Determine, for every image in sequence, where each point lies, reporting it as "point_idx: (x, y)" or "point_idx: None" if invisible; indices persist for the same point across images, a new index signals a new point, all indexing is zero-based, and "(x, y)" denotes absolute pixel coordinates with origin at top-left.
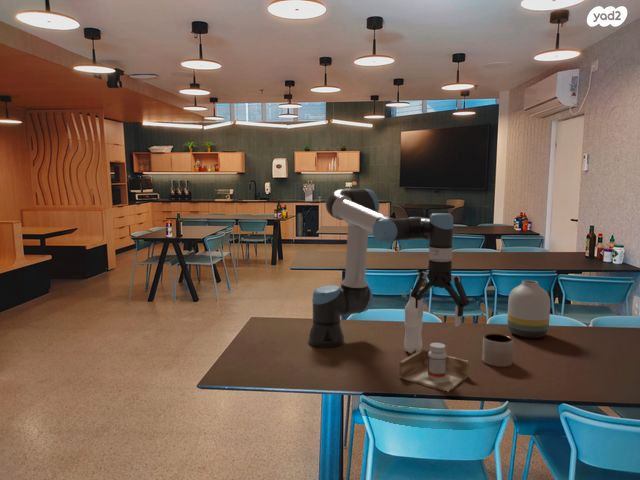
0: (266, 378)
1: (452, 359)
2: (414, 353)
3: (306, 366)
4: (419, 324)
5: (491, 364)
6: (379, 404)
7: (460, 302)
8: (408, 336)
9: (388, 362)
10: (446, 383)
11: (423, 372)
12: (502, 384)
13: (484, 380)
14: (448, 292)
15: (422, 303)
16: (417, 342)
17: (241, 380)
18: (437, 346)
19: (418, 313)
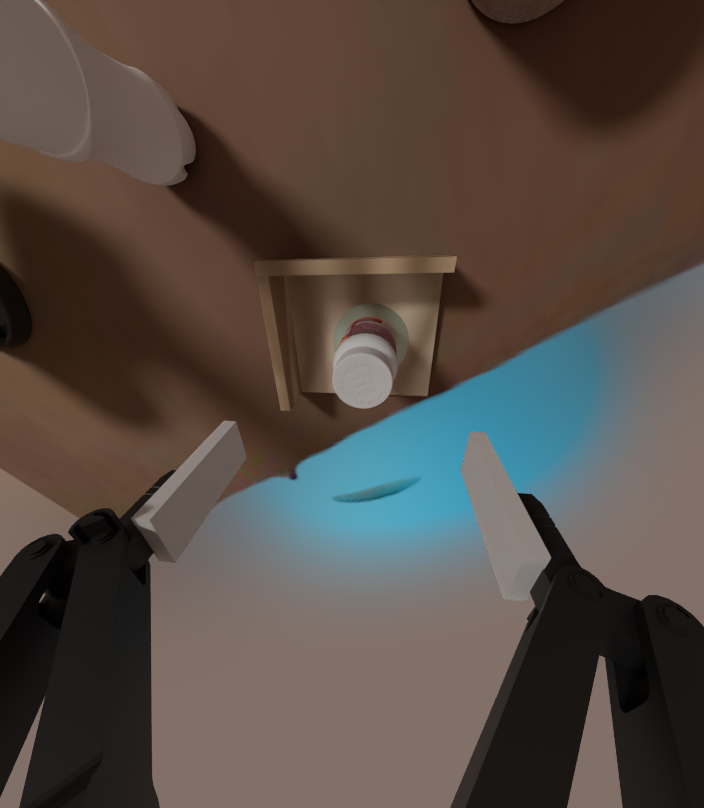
0: None
1: (391, 273)
2: (265, 324)
3: (132, 447)
4: (80, 95)
5: (516, 22)
6: (339, 496)
7: (569, 613)
8: (115, 163)
9: (205, 317)
10: (409, 364)
11: (325, 336)
12: (569, 235)
13: (502, 245)
14: (456, 798)
15: (181, 499)
16: (165, 146)
17: None
18: (368, 396)
19: (226, 479)
